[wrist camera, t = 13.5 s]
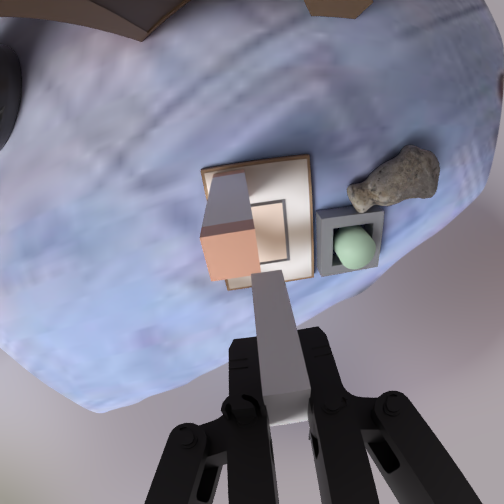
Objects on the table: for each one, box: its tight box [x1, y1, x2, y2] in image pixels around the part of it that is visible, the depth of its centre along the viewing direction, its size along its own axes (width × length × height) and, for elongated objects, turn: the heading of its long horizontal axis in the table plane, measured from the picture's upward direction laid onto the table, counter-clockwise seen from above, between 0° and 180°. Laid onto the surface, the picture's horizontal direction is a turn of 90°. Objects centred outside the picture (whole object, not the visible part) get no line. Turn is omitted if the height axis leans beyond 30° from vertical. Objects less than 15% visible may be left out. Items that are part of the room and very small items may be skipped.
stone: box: [347, 145, 440, 213], centre depth 24 cm, size 10×6×8 cm
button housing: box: [316, 205, 384, 277], centre depth 28 cm, size 7×7×2 cm
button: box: [333, 225, 376, 269], centre depth 27 cm, size 4×4×3 cm
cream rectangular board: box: [201, 154, 314, 291], centre depth 27 cm, size 14×10×1 cm
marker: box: [200, 169, 261, 281], centre depth 19 cm, size 3×3×12 cm
